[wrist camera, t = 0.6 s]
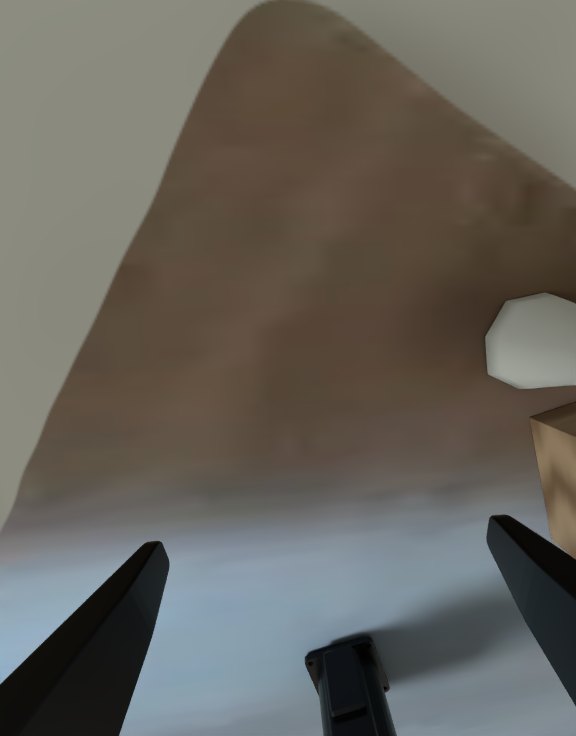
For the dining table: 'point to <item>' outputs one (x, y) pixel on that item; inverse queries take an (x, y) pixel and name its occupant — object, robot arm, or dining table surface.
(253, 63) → the dining table surface
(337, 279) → the dining table surface
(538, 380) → the flask
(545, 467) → the light brown square board
